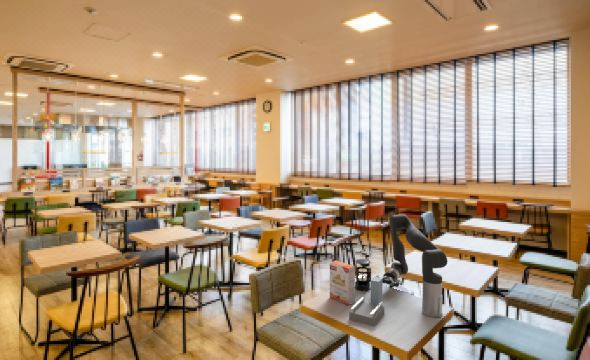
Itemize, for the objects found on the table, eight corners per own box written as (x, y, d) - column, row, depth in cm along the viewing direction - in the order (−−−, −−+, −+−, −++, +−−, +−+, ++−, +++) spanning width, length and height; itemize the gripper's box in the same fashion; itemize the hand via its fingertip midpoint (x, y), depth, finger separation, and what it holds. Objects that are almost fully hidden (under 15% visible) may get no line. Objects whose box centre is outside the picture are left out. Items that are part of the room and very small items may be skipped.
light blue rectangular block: (382, 304, 191) (382, 278, 189) (378, 309, 186) (378, 281, 184) (374, 302, 193) (374, 276, 192) (370, 307, 188) (370, 280, 186)
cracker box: (329, 297, 200) (329, 262, 198) (336, 294, 204) (336, 259, 202) (348, 305, 190) (348, 268, 188) (355, 302, 194) (355, 265, 192)
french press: (361, 292, 206) (362, 255, 204) (350, 287, 214) (350, 251, 212) (375, 288, 213) (376, 251, 210) (364, 283, 220) (364, 247, 218)
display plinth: (384, 313, 180) (384, 302, 180) (374, 326, 168) (374, 314, 167) (360, 307, 187) (360, 296, 187) (349, 319, 175) (349, 308, 174)
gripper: (380, 268, 214) (370, 276, 200) (403, 272, 206) (395, 281, 193) (379, 279, 215) (370, 289, 201) (403, 284, 207) (395, 294, 193)
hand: (382, 285), depth 197 cm, fingers open, 8 cm apart
